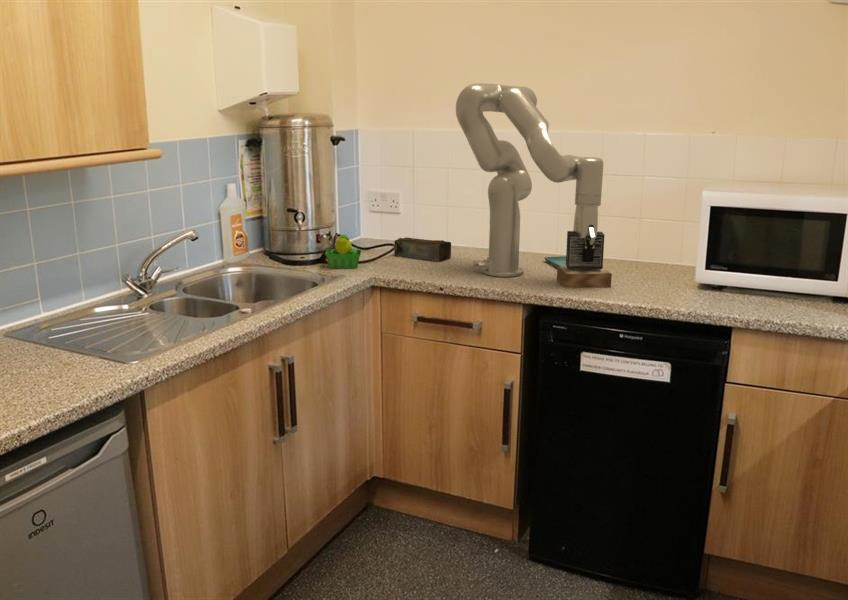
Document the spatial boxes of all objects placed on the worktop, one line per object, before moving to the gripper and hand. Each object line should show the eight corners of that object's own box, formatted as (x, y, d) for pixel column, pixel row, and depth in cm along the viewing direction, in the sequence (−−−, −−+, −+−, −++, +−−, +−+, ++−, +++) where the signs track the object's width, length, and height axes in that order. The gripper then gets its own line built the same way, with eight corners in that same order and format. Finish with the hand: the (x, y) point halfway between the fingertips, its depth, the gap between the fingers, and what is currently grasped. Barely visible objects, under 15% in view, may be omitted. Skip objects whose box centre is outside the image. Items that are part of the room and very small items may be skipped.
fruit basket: (361, 264, 264) (361, 230, 262) (360, 270, 256) (360, 235, 253) (327, 264, 264) (326, 230, 261) (325, 270, 256) (324, 235, 253)
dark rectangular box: (405, 253, 284) (406, 234, 283) (452, 259, 274) (452, 240, 273) (393, 256, 278) (393, 238, 276) (440, 263, 268) (440, 244, 266)
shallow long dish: (543, 262, 271) (543, 255, 270) (568, 261, 272) (569, 254, 272) (572, 280, 246) (572, 272, 245) (599, 279, 248) (600, 271, 247)
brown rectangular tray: (564, 287, 234) (565, 273, 233) (556, 279, 244) (557, 266, 243) (610, 287, 235) (611, 272, 234) (601, 279, 245) (602, 265, 244)
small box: (600, 265, 241) (602, 230, 238) (603, 269, 235) (605, 234, 232) (565, 263, 242) (567, 230, 239) (567, 268, 236) (569, 233, 233)
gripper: (568, 196, 241) (565, 253, 246) (583, 204, 225) (579, 265, 229) (592, 196, 242) (588, 253, 246) (609, 204, 225) (604, 265, 230)
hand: (584, 258), depth 238 cm, fingers open, 7 cm apart
